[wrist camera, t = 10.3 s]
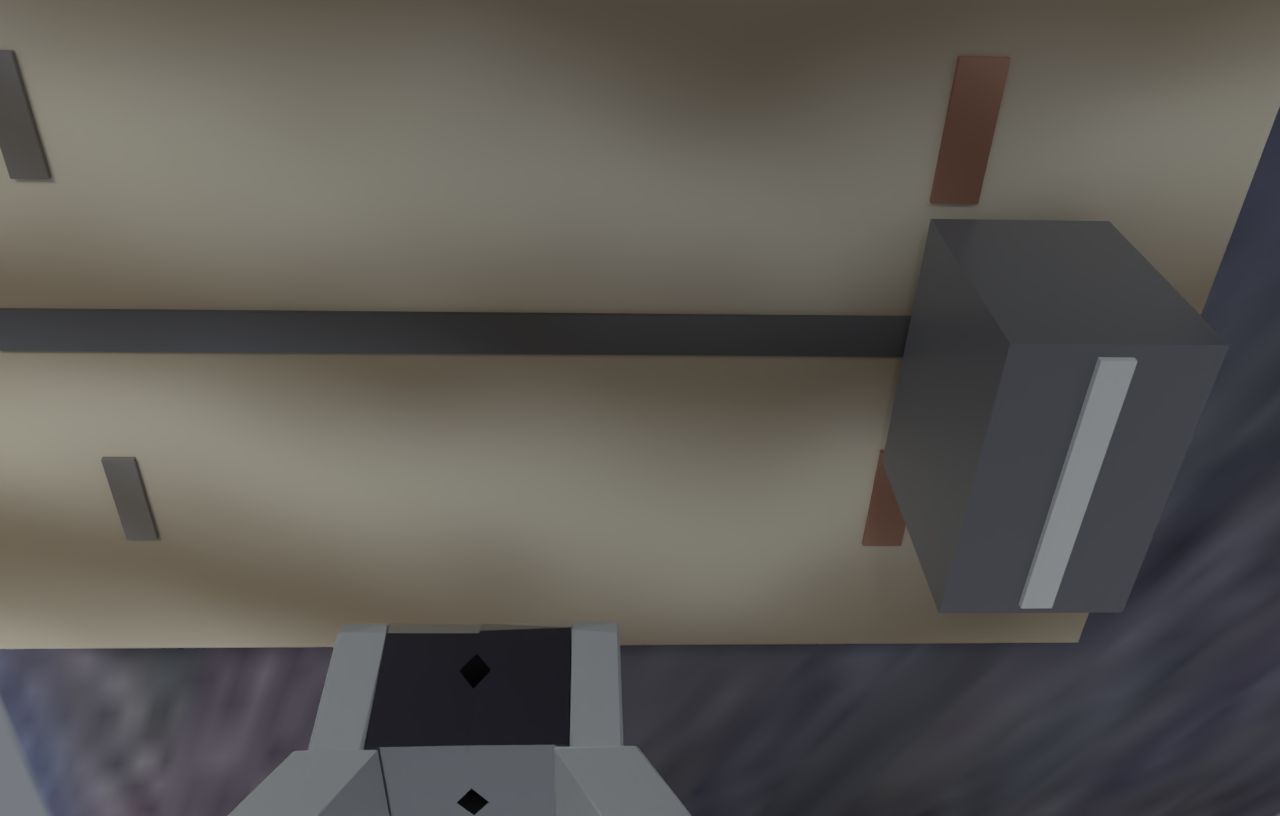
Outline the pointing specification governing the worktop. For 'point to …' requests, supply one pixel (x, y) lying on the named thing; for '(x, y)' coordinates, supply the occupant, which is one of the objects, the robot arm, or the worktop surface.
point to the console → (539, 296)
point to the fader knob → (1042, 413)
